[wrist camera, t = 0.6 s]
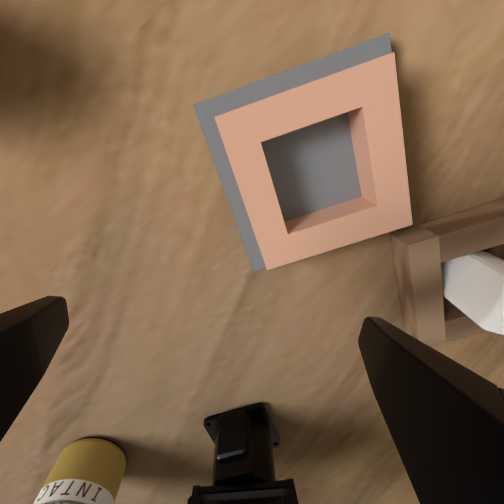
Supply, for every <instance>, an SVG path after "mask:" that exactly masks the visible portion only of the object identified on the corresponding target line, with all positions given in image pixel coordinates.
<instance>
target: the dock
mask: <svg viewBox="0 0 504 504" xmlns="http://www.w3.org/2000/svg"><path fill="white" fill-rule="evenodd" d="M194 108H195V111H196V114H197V116H198V119H199V122H200V125H201V127H202V130H203V133H204V136H205V138H206V141H207V144H208V147H209V149H210V152H211V155H212V157H213V160H214V163H215V166H216V168H217V171H218V174H219V177H220V179H221V182H222V185H223V188H224V190H225V193H226V196H227V198H228V201H229V204H230V207H231V209H232V212H233V215H234V218H235V220H236V223H237V226H238V229H239V231H240V234H241V237H242V240H243V242H244V245H245V248H246V250H247V253H248V256H249V259H250V261H251V264H252V267H253V270H254V272H255V271H258V270H262V269H265V268H266V269H267V270H270V269H273V268H276V267H279V266H282V265H285V264H289V263H292V262H295V261H298V260H301V259H305V258H308V257H311V256H314V255H317V254H321V253H324V252H327V251H330V250H333V249H337V248H340V247H343V246H346V245H349V244H352V243H356V242H359V241H362V240H365V239H368V238H372V237H375V236H378V235H381V234H384V233H388V232H391V231H394V230H397V229H400V228H404V227H407V226H410V225H413V223H412V214H411V204H410V195H409V186H408V176H407V167H406V157H405V148H404V139H403V129H402V120H401V111H400V101H399V92H398V82H397V73H396V64H395V54H394V52H393V53H392V51H391V42H390V33H388V34H385V35H382V36H379V37H377V38H374V39H371V40H369V41H366V42H363V43H360V44H358V45H355V46H352V47H350V48H347V49H344V50H341V51H339V52H336V53H333V54H330V55H328V56H325V57H322V58H320V59H317V60H314V61H311V62H309V63H306V64H303V65H301V66H298V67H295V68H292V69H290V70H287V71H284V72H281V73H279V74H276V75H273V76H271V77H268V78H265V79H262V80H260V81H257V82H254V83H252V84H249V85H246V86H243V87H241V88H238V89H235V90H232V91H230V92H227V93H224V94H222V95H219V96H216V97H213V98H211V99H208V100H205V101H203V102H200V103H197V104H194Z"/></svg>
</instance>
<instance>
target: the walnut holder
mask: <svg viewBox="0 0 504 504" xmlns="http://www.w3.org/2000/svg"><path fill="white" fill-rule="evenodd" d="M391 239H392V247H393V254H394V261H395V268H396V275H397V282H398V289H399V296H400V303H401V310H402V317H403V325H404V331H405V332H406V333H407V334H409V335H411V336H412V337H414V338H416V339H418V340H419V341H421V342H423V343H424V344H426V345H428V346H430V347H431V346H435V345H439V344H442V343H446V342H449V341H453V340H457V339H460V338H464V337H467V336H471V335H474V334H478V333H482V332H485V331H487V330H484V329H483V328H481V327H480V326H479V325H478V324H476V323H475V322H474V321H473V320H472V319H470V318H469V317H468V316H467V315H466V314H464V313H463V312H462V311H461V310H460V309H458V308H457V307H456V306H455V305H454V304H452V303H451V302H450V301H449V300H448V299H444V300H443V290H442V276H441V263H442V262H445V261H448V260H452V259H455V258H458V257H462V256H465V255H468V254H472V253H475V252H478V251H481V250H485V249H488V248H491V254H493V255H495V256H497V257H499V258H501V259H503V260H504V198H503V199H500V200H496V201H493V202H490V203H487V204H484V205H480V206H477V207H474V208H471V209H468V210H464V211H461V212H458V213H455V214H452V215H448V216H445V217H442V218H439V219H436V220H432V221H429V222H426V223H423V224H420V225H416V226H413V227H410V228H407V229H404V230H400V231H397V232H394V233H391Z"/></svg>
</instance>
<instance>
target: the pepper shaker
mask: <svg viewBox="0 0 504 504" xmlns="http://www.w3.org/2000/svg"><path fill="white" fill-rule="evenodd" d="M441 276H442V290H443V296H444V297H445V298H446V299H448V300H449V301H450V302H451V303H452V304H454V305H455V306H456V307H457V308H458V309H460V310H461V311H462V312H463V313H464V314H466V315H467V316H468V317H469V318H470V319H472V320H473V321H474V322H475V323H476V324H478V325H479V326H480V327H481V328H483V329H484V330H487V331H490V332H494V333H497V334H502V335H504V260H503V259H501V258H499V257H497V256H495V255H493V254H491V253H488V252H484V251H478V252H475V253H472V254H468V255H465V256H462V257H458V258H455V259H452V260H448V261H445V262H442V263H441Z"/></svg>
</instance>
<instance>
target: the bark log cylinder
mask: <svg viewBox="0 0 504 504" xmlns="http://www.w3.org/2000/svg"><path fill="white" fill-rule="evenodd" d="M125 467H126V459H125V455H124V453H123V452H122V450H121V449H120V448H119V447H118V446H116V445H115V444H113V443H111V442H109V441H106V440H103V439H97V438H86V439H80V440H77V441H74V442H72V443H71V444H69V445H68V446H66V447H65V448H64V449H63V450H62V452H61V453H60V455H59V457H58V459H57V461H56V463H55V464H54V466H53V468H52V470H51V472H50V474H49V476H48V478H47V479H46V481H45V483H44V485H43V487H42V489H41V490H40V492H39V494H38V496H37V498H36V500H35V502H34V503H33V504H114V502H115V499H116V496H117V493H118V490H119V486H120V483H121V480H122V477H123V474H124V471H125Z"/></svg>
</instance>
